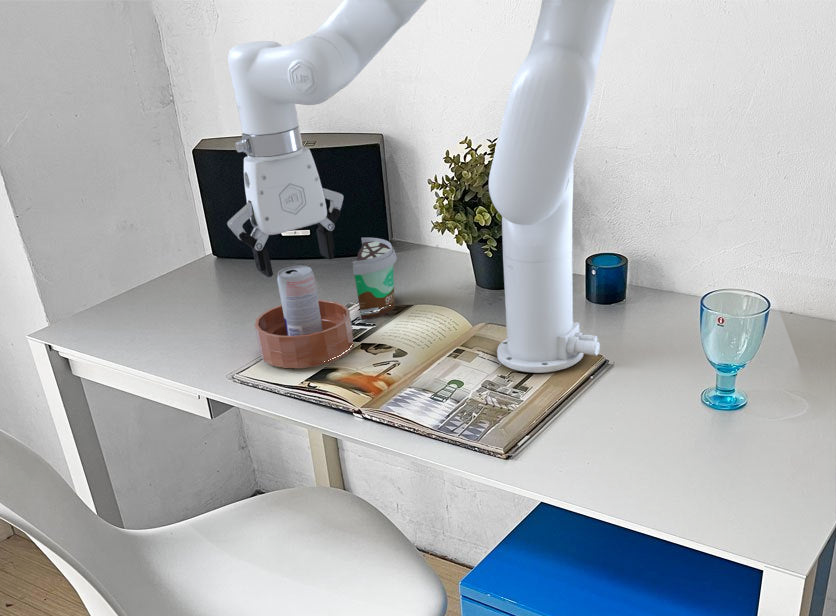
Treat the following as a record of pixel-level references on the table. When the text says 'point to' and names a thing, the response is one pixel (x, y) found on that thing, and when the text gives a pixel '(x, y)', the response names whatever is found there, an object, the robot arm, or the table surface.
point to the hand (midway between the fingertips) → (297, 265)
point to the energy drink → (299, 300)
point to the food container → (375, 277)
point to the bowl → (305, 338)
